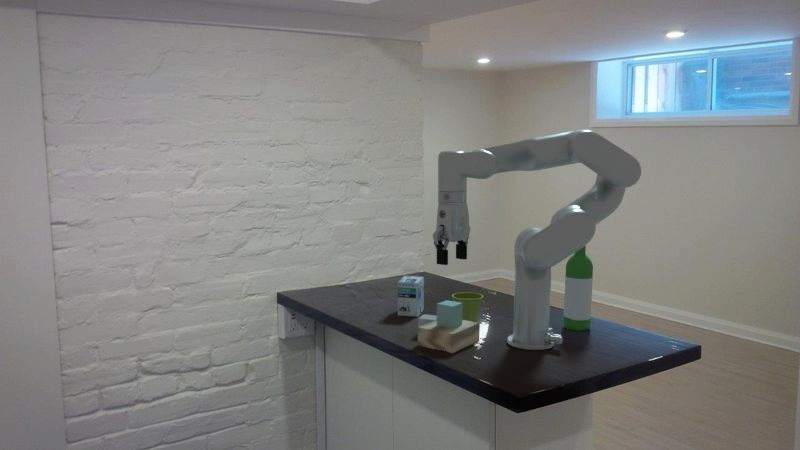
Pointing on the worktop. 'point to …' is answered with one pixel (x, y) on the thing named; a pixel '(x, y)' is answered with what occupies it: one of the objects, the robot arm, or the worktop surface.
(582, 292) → the wine bottle
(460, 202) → the robot arm
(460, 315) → the teal block
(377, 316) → the worktop surface
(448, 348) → the oak pedestal
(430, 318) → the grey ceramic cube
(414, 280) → the light bulb box
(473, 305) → the plant pot
